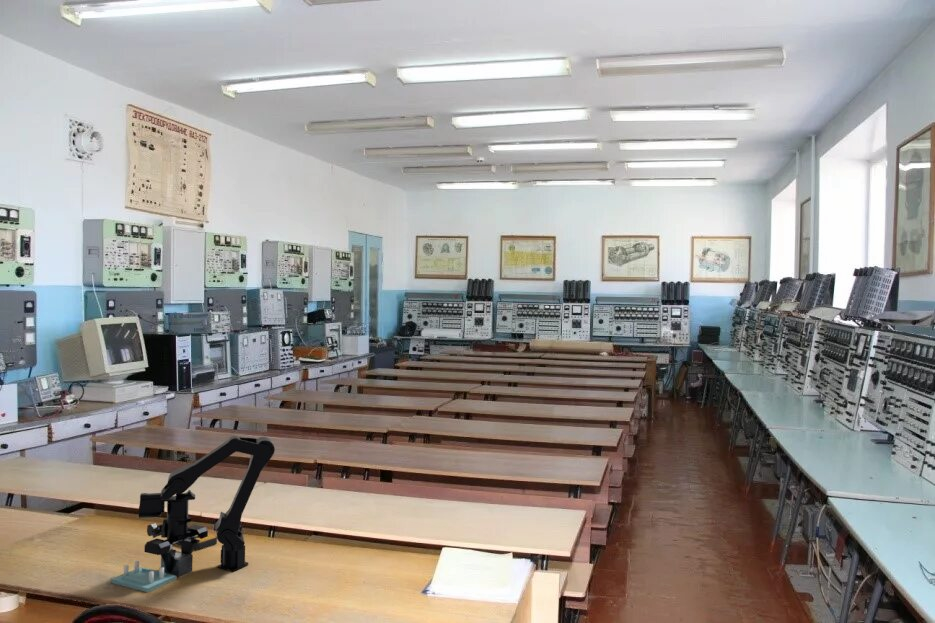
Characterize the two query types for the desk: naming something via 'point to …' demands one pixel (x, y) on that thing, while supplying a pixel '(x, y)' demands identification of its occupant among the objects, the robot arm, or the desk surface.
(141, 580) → the teal fixture plate
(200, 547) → the electronic device
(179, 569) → the block
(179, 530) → the robot arm
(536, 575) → the desk surface
